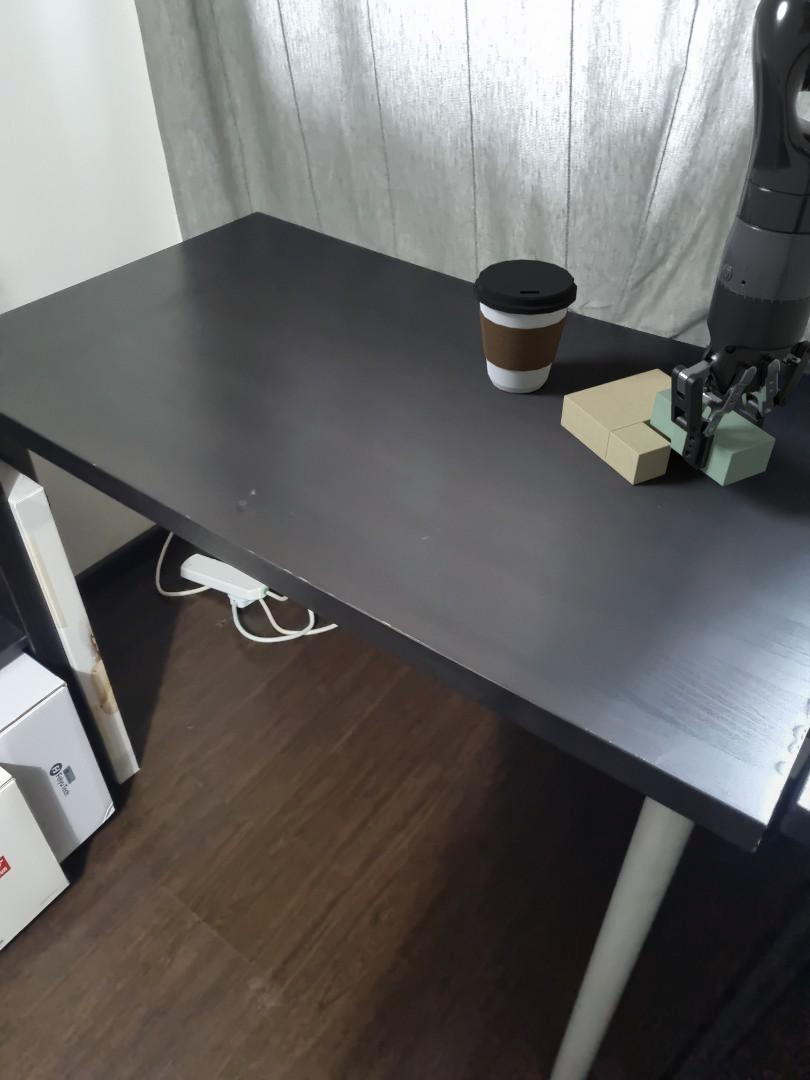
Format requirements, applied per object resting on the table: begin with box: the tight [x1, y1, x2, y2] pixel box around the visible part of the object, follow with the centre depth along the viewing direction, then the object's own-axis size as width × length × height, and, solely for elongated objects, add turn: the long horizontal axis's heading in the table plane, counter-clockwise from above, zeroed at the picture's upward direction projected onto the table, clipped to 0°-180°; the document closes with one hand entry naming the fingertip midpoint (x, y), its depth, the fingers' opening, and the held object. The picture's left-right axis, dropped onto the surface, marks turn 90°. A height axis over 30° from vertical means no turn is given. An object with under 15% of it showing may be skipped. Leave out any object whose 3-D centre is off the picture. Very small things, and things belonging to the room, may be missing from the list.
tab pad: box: [650, 388, 777, 487], centre depth 76 cm, size 11×5×4 cm, turn 26°
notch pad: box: [560, 368, 672, 486], centre depth 83 cm, size 12×12×4 cm
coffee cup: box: [472, 258, 578, 394], centre depth 90 cm, size 11×11×12 cm
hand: (718, 455), depth 75 cm, fingers closed on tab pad, 5 cm apart
